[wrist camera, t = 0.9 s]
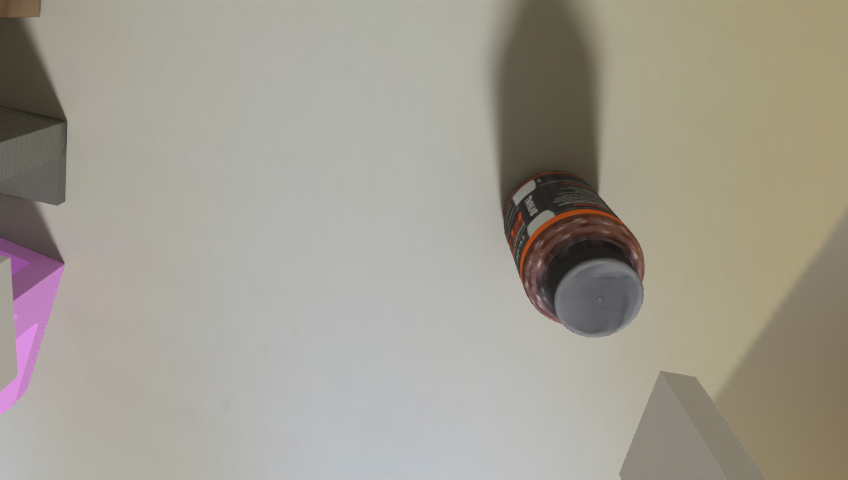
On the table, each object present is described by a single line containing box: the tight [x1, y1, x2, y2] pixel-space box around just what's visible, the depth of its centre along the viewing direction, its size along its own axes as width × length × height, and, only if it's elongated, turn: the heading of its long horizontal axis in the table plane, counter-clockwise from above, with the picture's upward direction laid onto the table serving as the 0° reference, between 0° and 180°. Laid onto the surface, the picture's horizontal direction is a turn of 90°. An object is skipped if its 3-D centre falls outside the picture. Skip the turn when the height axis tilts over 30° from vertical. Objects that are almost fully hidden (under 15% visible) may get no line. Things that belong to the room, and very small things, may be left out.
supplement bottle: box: [504, 171, 645, 337], centre depth 32 cm, size 6×6×11 cm
